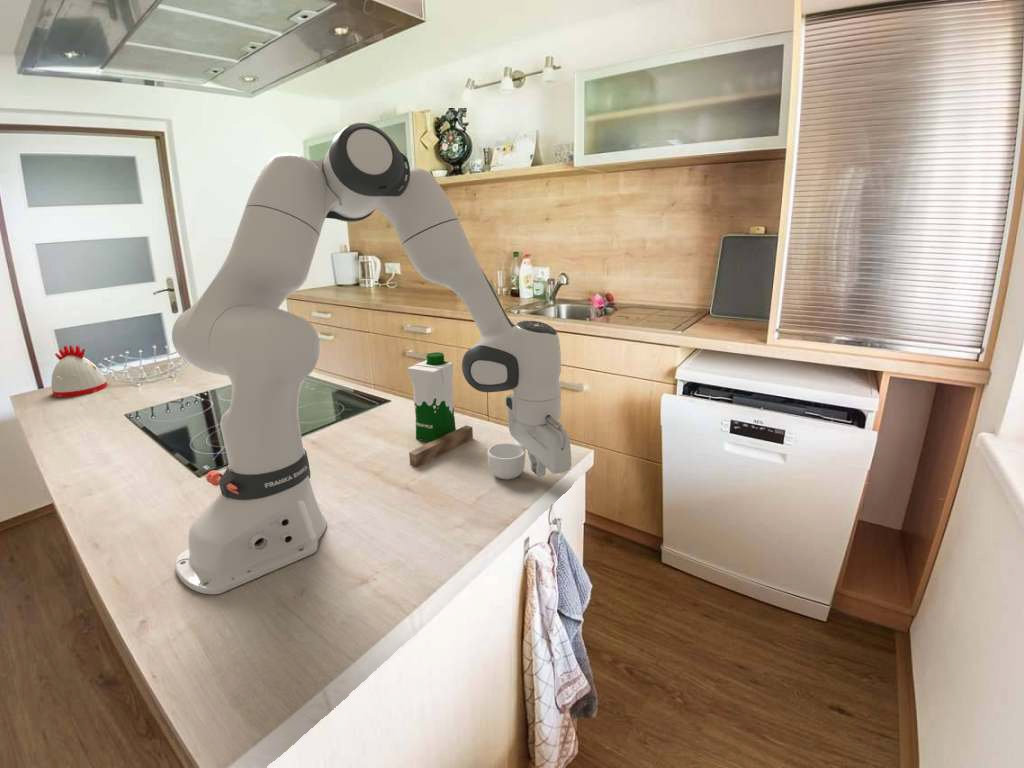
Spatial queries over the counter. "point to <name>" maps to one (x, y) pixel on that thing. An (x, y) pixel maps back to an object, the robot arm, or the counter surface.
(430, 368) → the milk carton
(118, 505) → the counter surface
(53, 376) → the crested hat
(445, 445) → the strip
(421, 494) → the counter surface
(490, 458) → the teacup
